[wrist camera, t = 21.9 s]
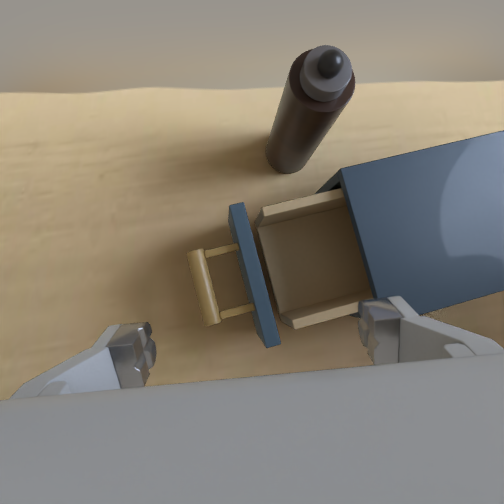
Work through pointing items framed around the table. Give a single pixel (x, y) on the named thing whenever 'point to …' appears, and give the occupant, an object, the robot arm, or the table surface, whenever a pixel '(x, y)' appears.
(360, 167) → the cabinet
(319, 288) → the drawer
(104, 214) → the table surface
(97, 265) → the table surface
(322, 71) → the pepper mill
